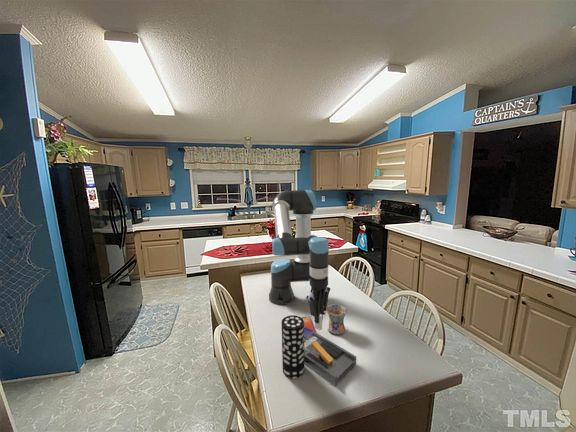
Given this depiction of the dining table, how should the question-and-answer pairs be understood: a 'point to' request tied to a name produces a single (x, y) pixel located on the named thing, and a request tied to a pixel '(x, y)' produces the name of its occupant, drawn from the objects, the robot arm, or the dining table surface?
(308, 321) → the smartphone
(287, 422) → the dining table surface
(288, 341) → the spotted tube
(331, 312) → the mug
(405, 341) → the dining table surface
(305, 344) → the dark grey tray
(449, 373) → the dining table surface
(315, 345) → the orange rectangular bar
